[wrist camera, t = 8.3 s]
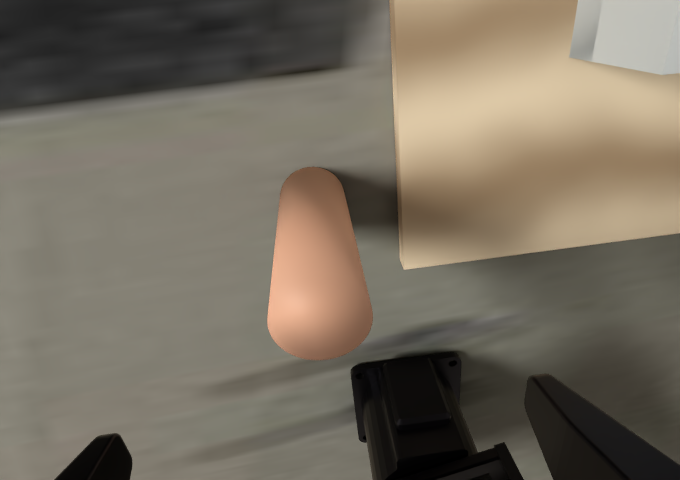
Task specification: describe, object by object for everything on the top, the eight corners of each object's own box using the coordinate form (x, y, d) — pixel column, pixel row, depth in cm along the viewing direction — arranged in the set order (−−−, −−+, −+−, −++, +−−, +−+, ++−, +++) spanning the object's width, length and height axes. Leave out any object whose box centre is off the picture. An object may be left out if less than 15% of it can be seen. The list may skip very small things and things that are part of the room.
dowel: (347, 222, 21) (376, 352, 13) (285, 230, 21) (277, 366, 13) (341, 163, 19) (369, 269, 12) (274, 171, 19) (258, 284, 11)
